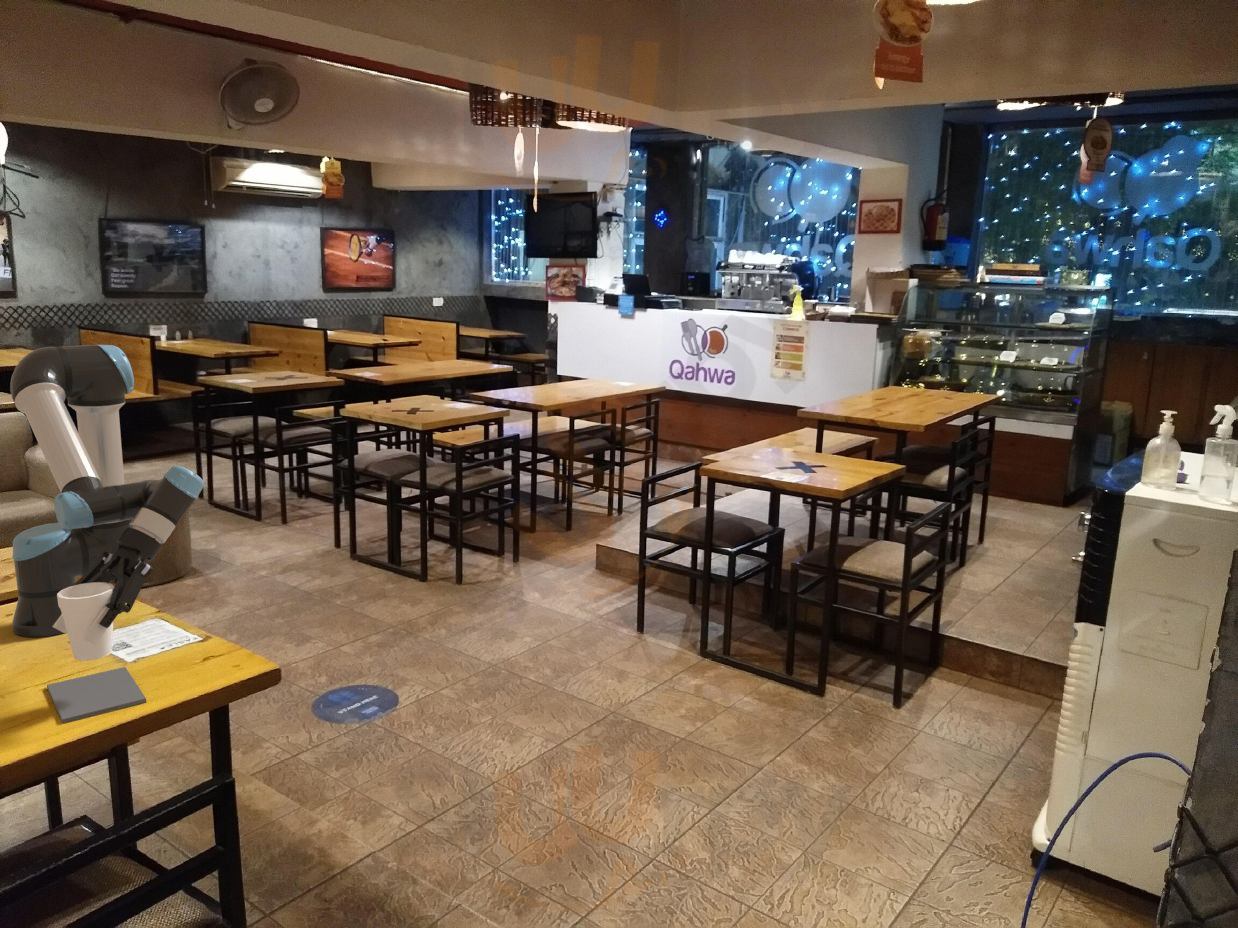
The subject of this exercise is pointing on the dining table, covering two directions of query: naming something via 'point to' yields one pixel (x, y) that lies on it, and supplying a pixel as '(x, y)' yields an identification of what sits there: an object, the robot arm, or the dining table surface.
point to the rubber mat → (95, 694)
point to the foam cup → (86, 617)
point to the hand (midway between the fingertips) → (73, 635)
